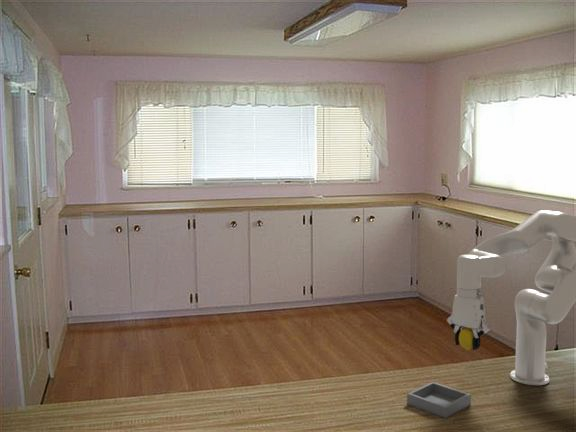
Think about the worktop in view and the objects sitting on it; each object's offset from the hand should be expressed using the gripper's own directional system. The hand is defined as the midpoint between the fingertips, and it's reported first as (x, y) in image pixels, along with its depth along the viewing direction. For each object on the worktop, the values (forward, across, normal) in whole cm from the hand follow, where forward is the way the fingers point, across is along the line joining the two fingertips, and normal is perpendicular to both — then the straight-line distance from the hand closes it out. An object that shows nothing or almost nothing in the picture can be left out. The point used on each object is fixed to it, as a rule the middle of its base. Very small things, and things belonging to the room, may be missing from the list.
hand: (467, 345), depth 191 cm
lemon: (+2, 0, 0) cm, 2 cm away
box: (+15, 0, +16) cm, 22 cm away
